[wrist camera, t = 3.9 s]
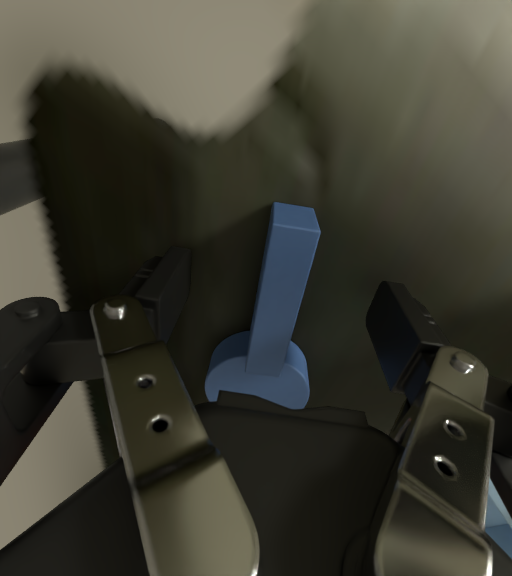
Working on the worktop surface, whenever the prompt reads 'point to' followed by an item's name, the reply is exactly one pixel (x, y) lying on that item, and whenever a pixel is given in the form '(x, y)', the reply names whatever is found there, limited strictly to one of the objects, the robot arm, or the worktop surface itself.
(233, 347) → the blue spoon
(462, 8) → the worktop surface
